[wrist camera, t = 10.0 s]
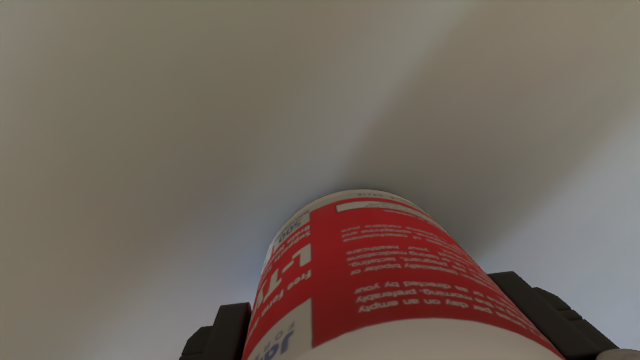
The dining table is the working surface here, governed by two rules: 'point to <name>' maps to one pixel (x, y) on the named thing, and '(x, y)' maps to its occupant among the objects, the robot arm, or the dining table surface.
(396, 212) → the pill bottle
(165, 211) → the dining table surface
